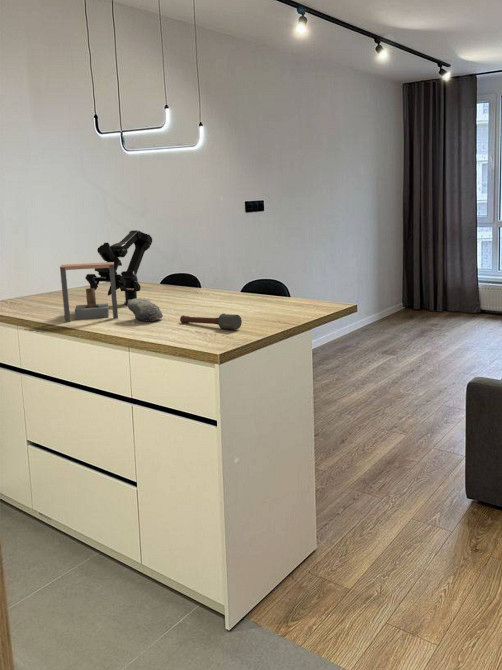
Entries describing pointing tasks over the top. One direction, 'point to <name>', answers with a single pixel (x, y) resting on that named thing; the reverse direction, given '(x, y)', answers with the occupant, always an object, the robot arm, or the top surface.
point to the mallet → (216, 321)
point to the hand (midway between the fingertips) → (99, 294)
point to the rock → (144, 310)
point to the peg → (91, 298)
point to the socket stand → (82, 310)
